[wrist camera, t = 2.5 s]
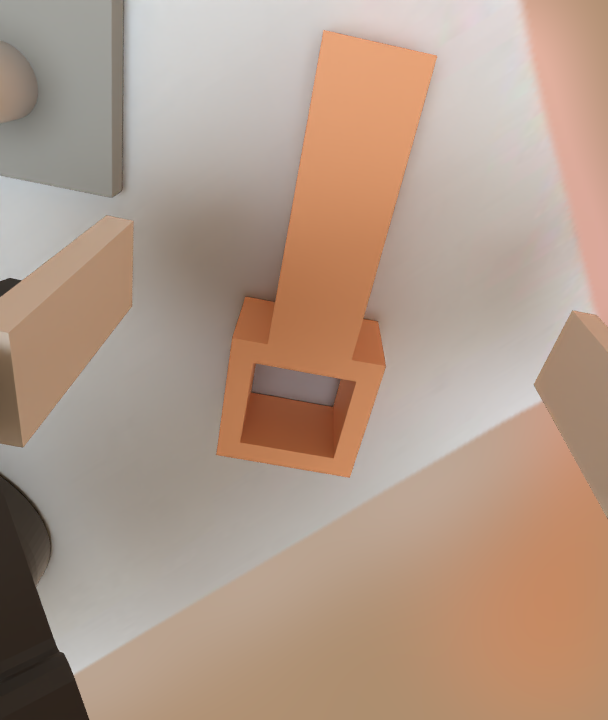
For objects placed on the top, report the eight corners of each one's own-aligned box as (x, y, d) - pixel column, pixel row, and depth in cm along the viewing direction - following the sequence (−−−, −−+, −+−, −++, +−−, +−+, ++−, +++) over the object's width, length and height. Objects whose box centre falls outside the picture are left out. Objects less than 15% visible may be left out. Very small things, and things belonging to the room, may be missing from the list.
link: (347, 424, 28) (349, 477, 25) (230, 404, 28) (216, 454, 25) (456, 61, 19) (483, 66, 16) (285, 22, 19) (275, 19, 15)
